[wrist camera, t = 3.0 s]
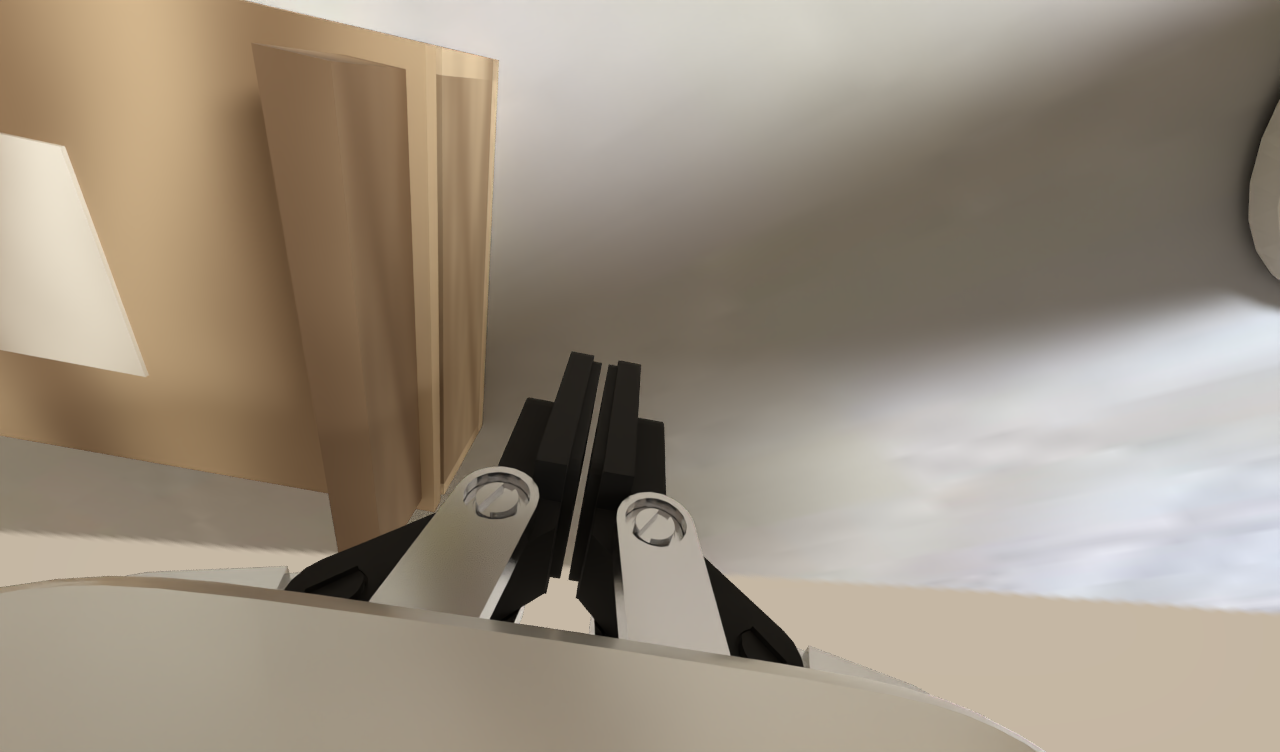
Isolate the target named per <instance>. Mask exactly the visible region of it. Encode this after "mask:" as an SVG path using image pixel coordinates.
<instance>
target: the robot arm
mask: <svg viewBox="0 0 1280 752" xmlns="http://www.w3.org/2000/svg"><path fill="white" fill-rule="evenodd" d="M1248 221H1249V225H1250V229H1251V233H1252V237H1253V241H1254V245H1255V249H1256V251H1257V253H1258V255H1259V256H1260V258H1261V259H1262V261H1263V262H1264V264H1265V265H1266V267H1267V268H1268V270H1269V271H1270V273H1271V274H1272V275H1273V276H1274V277H1276V278H1277V279H1278V280H1280V99H1279V102H1278V104H1277V106H1276V108H1275V110H1274V112H1273V115H1272V117H1271V119H1270V121H1269V123H1268V126H1267V128H1266V130H1265V132H1264V134H1263V137H1262V139H1261V143H1260V147H1259V150H1258V154H1257V158H1256V162H1255V165H1254V169H1253V173H1252V177H1251V180H1250V192H1249V216H1248ZM593 360H594V356H593V355H588V354H583V353H578V352H573V351H572V352H571V355H570V358H569V361H568V364H567V367H566V370H565V373H564V376H563V379H562V382H561V385H560V388H559V391H558V394H557V397H556V400H555V402H550V401H545V400H539V399H534V398H527V400H526V402H525V404H524V407H523V409H522V411H521V414H520V416H519V418H518V421H517V423H516V425H515V428H514V430H513V432H512V435H511V437H510V439H509V441H508V444H507V446H506V448H505V451H504V453H503V455H502V458H501V460H500V462H499V465H498V467H487V468H484V469H480V470H477V471H475V472H473V473H471V474H469V475H467V476H466V477H465V478H464V479H463V480H462V481H461V482H460V483H459V484H458V485H457V486H456V487H455V489H454V490H453V491H452V493H451V494H450V495H449V497H448V498H447V499H446V501H445V502H444V503H443V505H442V506H441V507H440V508H439V510H438V511H437V512H436V513H434V514H432V515H429V516H427V517H424V518H422V519H419V520H417V521H415V522H412V523H410V524H407V525H405V526H402V527H400V528H398V529H395V530H393V531H390V532H388V533H385V534H383V535H380V536H378V537H376V538H373V539H371V540H368V541H366V542H363V543H361V544H359V545H356V546H354V547H351V548H349V549H346V550H344V551H341V552H339V553H337V554H334V555H332V556H329V557H327V558H324V559H322V560H320V561H318V562H316V563H314V564H313V565H311V566H309V567H307V568H305V569H304V570H303V571H302V572H300V573H289V570H288V567H287V566H279V567H255V568H232V569H208V570H186V571H161V572H146V573H139V574H134V575H127V576H103V577H85V578H69V579H54V580H48V581H41V582H34V583H27V584H20V585H13V586H6V587H0V752H1046V751H1044V750H1043V749H1042V748H1040V747H1038V746H1037V745H1035V744H1034V743H1032V742H1030V741H1029V740H1027V739H1026V738H1024V737H1022V736H1021V735H1019V734H1017V733H1015V732H1013V731H1012V730H1010V729H1008V728H1006V727H1004V726H1002V725H1000V724H998V723H996V722H994V721H992V720H990V719H989V718H987V717H985V716H983V715H981V714H979V713H977V712H974V711H972V710H969V709H967V708H964V707H962V706H959V705H957V704H954V703H952V702H949V701H947V700H945V699H942V698H939V697H935V696H932V695H930V694H928V693H927V692H925V691H923V690H921V689H919V688H917V687H916V686H914V685H911V684H909V683H906V682H903V681H901V680H898V679H895V678H893V677H890V676H888V675H885V674H882V673H880V672H877V671H874V670H872V669H869V668H867V667H864V666H861V665H859V664H856V663H853V662H851V661H848V660H845V659H843V658H840V657H838V656H835V655H832V654H830V653H827V652H825V651H822V650H819V649H817V648H814V647H811V646H808V648H807V649H806V651H803V650H801V649H798V648H796V646H795V644H794V642H793V641H792V640H791V639H790V638H789V637H788V635H787V634H786V633H785V632H784V631H783V630H782V629H781V628H780V627H779V626H778V625H777V624H775V622H773V621H772V620H771V619H770V618H769V617H768V616H767V615H766V614H765V613H764V612H763V611H762V610H761V609H759V608H758V607H757V606H756V605H755V604H754V603H753V602H752V601H751V600H750V599H749V598H748V597H747V596H745V595H744V594H743V593H742V592H741V591H740V590H739V589H738V588H737V587H736V586H735V585H734V584H733V583H731V582H730V581H729V580H728V579H727V578H726V577H725V576H724V575H723V574H722V573H721V572H720V571H719V570H718V569H716V568H715V567H714V566H713V565H712V564H711V563H710V562H709V561H708V560H707V559H706V558H705V557H704V556H703V553H702V550H701V546H700V542H699V539H698V535H697V531H696V528H695V524H694V521H693V519H692V517H691V515H690V513H689V512H688V511H687V510H686V509H685V507H684V506H683V505H681V504H680V503H679V502H677V501H676V500H674V499H673V498H670V497H668V496H666V479H665V440H664V423H663V422H659V421H653V420H648V419H642V418H638V408H639V390H640V372H641V365H640V364H635V363H630V362H624V361H618V366H614V365H609V367H608V372H607V377H606V382H605V387H604V392H603V397H602V402H601V408H600V413H599V418H598V423H597V428H596V433H595V438H594V443H593V448H592V454H591V459H590V464H589V470H588V475H587V481H586V486H585V492H584V497H583V503H582V508H581V514H580V519H579V525H578V530H577V536H576V541H575V547H574V552H573V558H572V563H571V569H570V574H569V580H572V581H579V582H578V588H577V595H576V598H577V599H579V601H580V602H581V603H582V604H583V605H584V607H585V608H586V609H587V610H588V612H589V613H590V614H591V620H590V627H589V629H590V634H584V633H578V632H571V631H565V630H558V629H551V628H544V627H538V626H531V625H524V624H519V623H520V621H521V619H522V615H523V611H524V608H525V605H526V604H527V603H529V602H531V601H532V600H534V599H536V598H537V597H539V596H541V595H542V594H544V593H545V594H546V592H547V587H548V583H549V578H550V577H553V578H560V576H561V571H562V566H563V561H564V556H565V551H566V546H567V541H568V536H569V531H570V526H571V521H572V516H573V511H574V506H575V501H576V496H577V491H578V486H579V481H580V476H581V471H582V466H583V461H584V456H585V451H586V445H587V440H588V435H589V429H590V424H591V418H592V413H593V408H594V402H595V397H596V392H597V386H598V381H599V376H600V370H601V365H602V363H598V362H593Z"/></svg>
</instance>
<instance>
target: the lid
mask: <svg viewBox="0 0 1280 752" xmlns="http://www.w3.org/2000/svg"><path fill="white" fill-rule="evenodd" d="M0 436H6V437H11V438H17V439H23V440H28V441H34V442H40V443H45V444H51V445H57V446H62V447H68V448H74V449H79V450H85V451H91V452H96V453H102V454H108V455H114V456H119V457H125V458H131V459H136V460H142V461H148V462H153V463H159V464H165V465H170V466H176V467H182V468H187V469H193V470H199V471H204V472H210V473H216V474H221V475H227V476H233V477H238V478H244V479H250V480H255V481H261V482H267V483H272V484H278V485H284V486H289V487H295V488H301V489H306V490H312V491H318V492H323V493H328V495H329V501H330V506H331V512H332V518H333V524H334V530H335V536H336V541H337V547H338V553H339V552H341V551H344V550H346V549H349V548H351V547H354V546H356V545H359V544H361V543H363V542H366V541H368V540H371V539H373V538H376V537H378V536H380V535H383V534H385V533H388V532H390V531H393V530H395V529H398V528H400V527H402V526H405V525H406V524H407V523H408V521H409V519H410V518H411V516H412V515H413V513H414V511H415V510H416V509H420V510H425V511H431V512H435V510H436V508H437V507H438V505H439V503H440V501H441V494H440V396H439V299H438V202H437V104H436V46H432V45H427V44H423V43H419V42H415V41H411V40H406V39H402V38H398V37H394V36H389V35H385V34H381V33H377V32H372V31H368V30H364V29H360V28H355V27H351V26H347V25H343V24H338V23H334V22H330V21H326V20H322V19H317V18H313V17H309V16H305V15H300V14H296V13H292V12H288V11H283V10H279V9H275V8H271V7H266V6H262V5H258V4H254V3H249V2H245V1H241V0H0Z"/></svg>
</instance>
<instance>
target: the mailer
mask: <svg viewBox="0 0 1280 752" xmlns="http://www.w3.org/2000/svg"><path fill="white" fill-rule="evenodd" d="M241 1H245V0H241ZM245 2H249V3H254V2H250V1H245ZM254 4H258V3H254ZM258 5H262V4H258ZM262 6H266V7H271V6H267V5H262ZM271 8H275V7H271ZM275 9H279V8H275ZM279 10H283V9H279ZM283 11H288V10H283ZM288 12H292V11H288ZM292 13H296V12H292ZM296 14H300V13H296ZM300 15H305V14H300ZM305 16H309V15H305ZM309 17H313V16H309ZM313 18H317V17H313ZM317 19H322V18H317ZM322 20H326V19H322ZM326 21H330V20H326ZM330 22H334V21H330ZM334 23H338V24H343V23H339V22H334ZM343 25H347V24H343ZM347 26H351V25H347ZM351 27H355V26H351ZM355 28H360V27H355ZM360 29H364V28H360ZM364 30H368V29H364ZM368 31H372V30H368ZM372 32H377V31H372ZM377 33H381V32H377ZM381 34H385V33H381ZM385 35H389V34H385ZM389 36H394V35H389ZM394 37H398V36H394ZM398 38H402V37H398ZM402 39H406V38H402ZM406 40H411V39H406ZM411 41H415V40H411ZM415 42H419V41H415ZM419 43H423V42H419ZM423 44H427V45H432V44H428V43H423ZM432 46H436V45H432ZM498 67H499V60H495V59H491V58H487V57H483V56H478V55H474V54H470V53H466V52H461V51H457V50H453V49H449V48H444V47H440V46H436V104H437V202H438V299H439V396H440V494H443V495H444V494H445V492H446V490H447V489H448V487H449V485H450V483H451V481H452V480H453V478H454V476H455V474H456V472H457V471H458V469H459V467H460V465H461V463H462V462H463V460H464V458H465V456H466V454H467V453H468V451H469V449H470V447H471V445H472V444H473V442H474V440H475V438H476V436H477V435H478V433H479V431H480V429H481V427H482V420H483V398H484V376H485V354H486V332H487V310H488V287H489V265H490V243H491V221H492V199H493V177H494V155H495V133H496V111H497V89H498Z"/></svg>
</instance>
